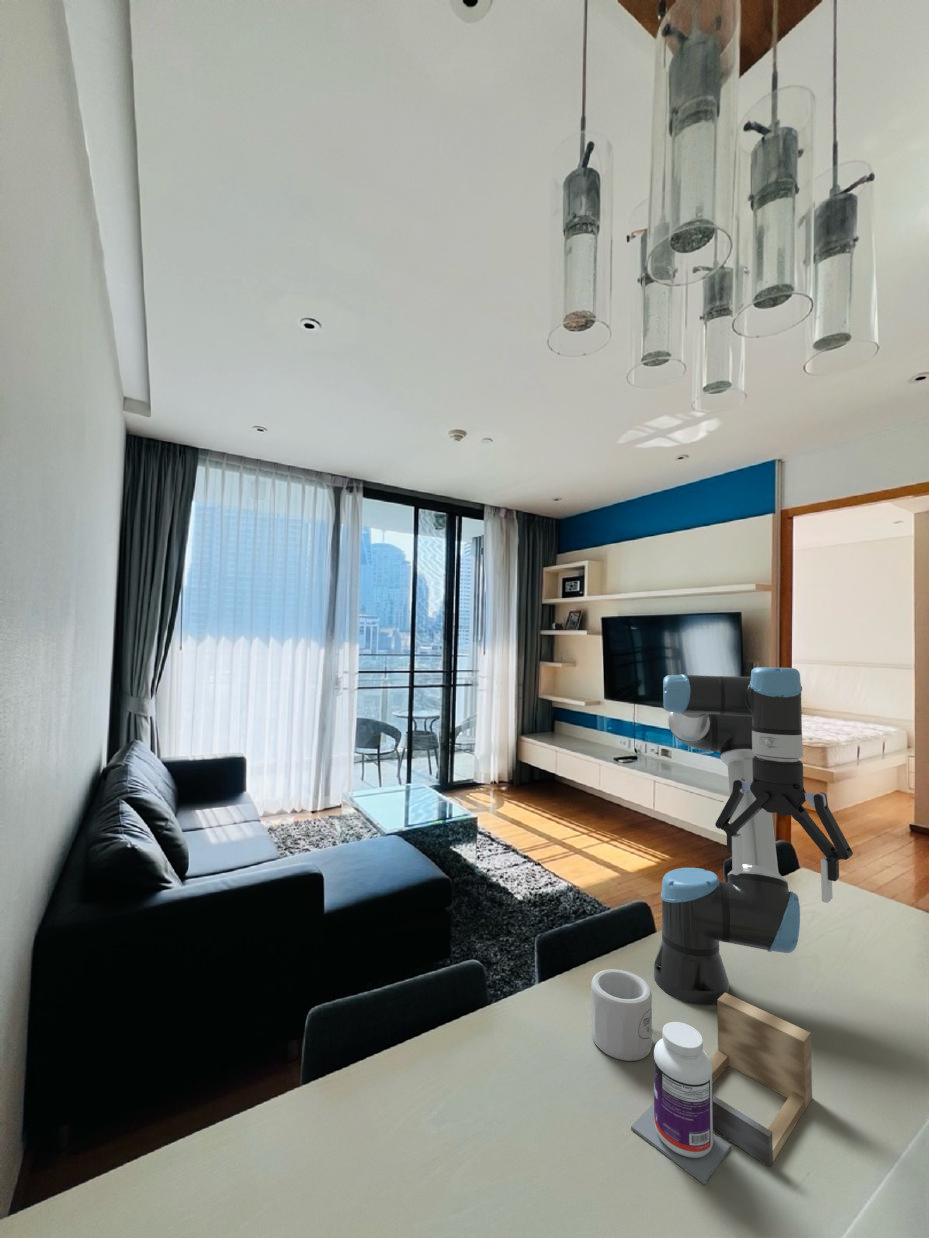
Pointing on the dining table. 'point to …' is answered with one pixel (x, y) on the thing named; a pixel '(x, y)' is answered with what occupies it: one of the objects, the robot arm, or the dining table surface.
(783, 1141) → the wooden bottle holder
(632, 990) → the mug
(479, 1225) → the dining table surface
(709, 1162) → the mat
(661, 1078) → the pill bottle
